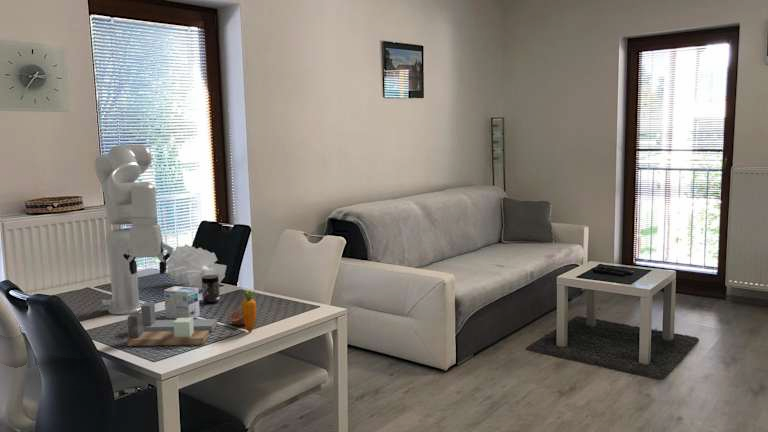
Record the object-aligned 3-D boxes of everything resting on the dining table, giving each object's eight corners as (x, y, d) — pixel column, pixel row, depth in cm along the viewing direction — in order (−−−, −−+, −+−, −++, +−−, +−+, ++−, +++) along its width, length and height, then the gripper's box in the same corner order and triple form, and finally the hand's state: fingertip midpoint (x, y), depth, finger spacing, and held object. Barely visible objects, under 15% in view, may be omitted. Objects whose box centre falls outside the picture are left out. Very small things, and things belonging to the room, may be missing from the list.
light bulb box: (200, 315, 243) (199, 287, 242) (189, 320, 237) (188, 291, 235) (176, 313, 246) (174, 285, 245) (164, 318, 240) (163, 289, 239)
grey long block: (141, 332, 222) (139, 307, 221) (148, 325, 230) (147, 300, 229) (212, 331, 223) (211, 306, 222) (217, 324, 231) (216, 299, 230)
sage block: (174, 337, 211) (173, 322, 211) (178, 332, 216) (177, 317, 216) (189, 337, 211) (189, 322, 211) (193, 332, 216) (193, 317, 216)
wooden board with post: (127, 345, 210) (125, 318, 208) (136, 337, 217) (134, 311, 216) (203, 344, 210) (201, 317, 209) (208, 336, 218) (207, 310, 217)
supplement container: (206, 299, 265) (205, 274, 264) (222, 299, 265) (221, 274, 263) (199, 304, 259) (198, 278, 257) (216, 304, 258) (215, 278, 256)
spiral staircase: (201, 303, 275) (173, 289, 293) (234, 279, 285) (205, 267, 302) (182, 268, 267) (155, 256, 284) (217, 244, 276) (189, 234, 294)
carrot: (243, 330, 225) (241, 287, 223) (258, 329, 225) (256, 287, 223) (241, 334, 220) (239, 291, 218) (256, 334, 221) (255, 291, 218)
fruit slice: (254, 325, 231) (253, 311, 230) (237, 329, 226) (236, 315, 226) (242, 320, 237) (242, 306, 236) (225, 324, 232) (225, 310, 232)
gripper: (113, 223, 209) (117, 276, 212) (167, 223, 209) (170, 275, 211) (124, 220, 217) (127, 271, 219) (175, 220, 216) (178, 270, 218)
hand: (148, 273), depth 215 cm, fingers open, 9 cm apart
